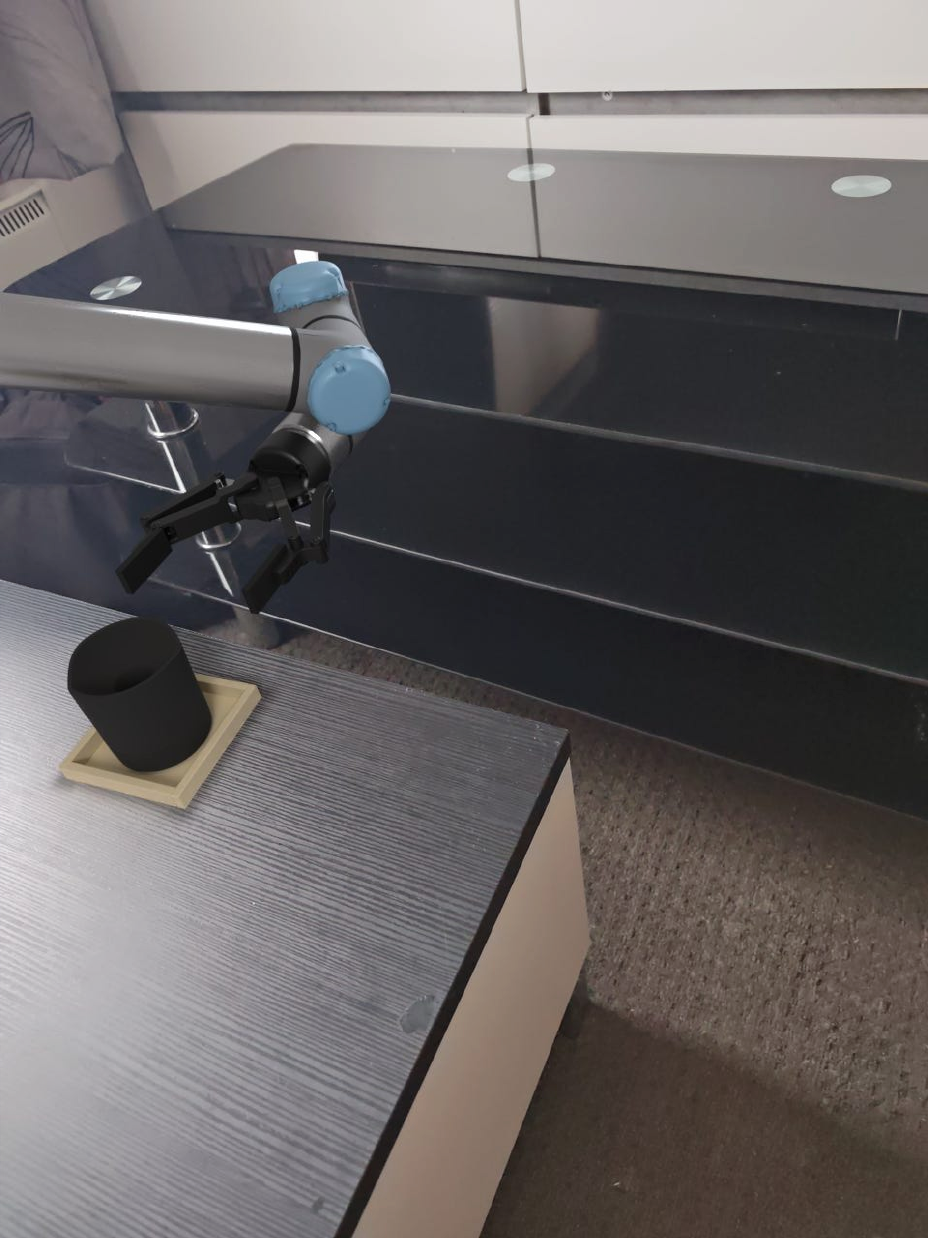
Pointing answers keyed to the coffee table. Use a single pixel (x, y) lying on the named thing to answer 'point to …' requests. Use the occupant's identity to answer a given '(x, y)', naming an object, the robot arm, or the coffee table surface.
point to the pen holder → (140, 693)
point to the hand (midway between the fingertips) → (184, 592)
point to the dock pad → (183, 780)
